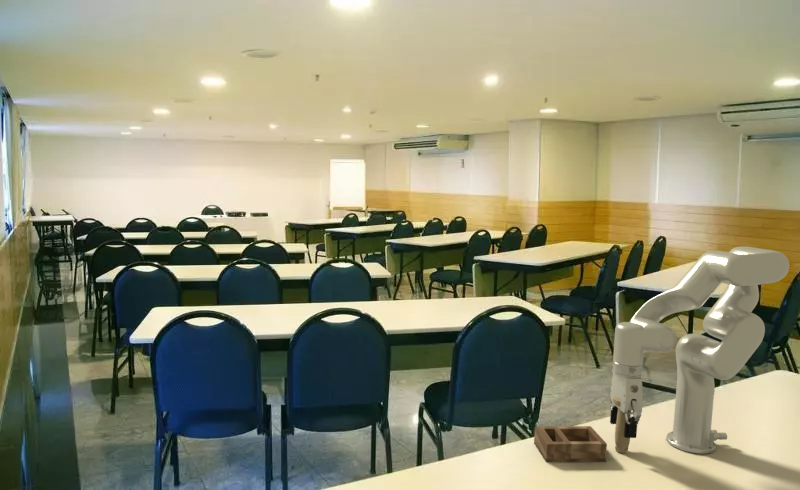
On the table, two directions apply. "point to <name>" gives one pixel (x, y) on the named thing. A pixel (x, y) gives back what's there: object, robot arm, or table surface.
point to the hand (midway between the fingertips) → (622, 430)
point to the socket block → (570, 444)
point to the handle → (620, 430)
